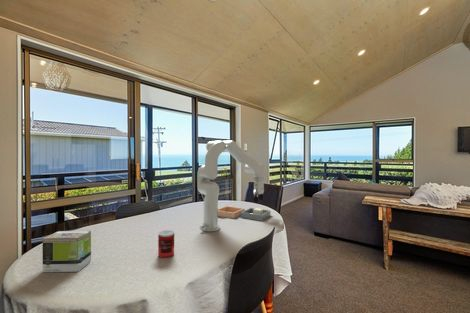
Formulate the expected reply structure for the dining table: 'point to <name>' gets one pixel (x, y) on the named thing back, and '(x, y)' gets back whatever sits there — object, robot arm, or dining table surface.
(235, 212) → the tub
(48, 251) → the tea box
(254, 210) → the stone block
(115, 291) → the dining table surface
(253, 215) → the bin
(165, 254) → the canned food
